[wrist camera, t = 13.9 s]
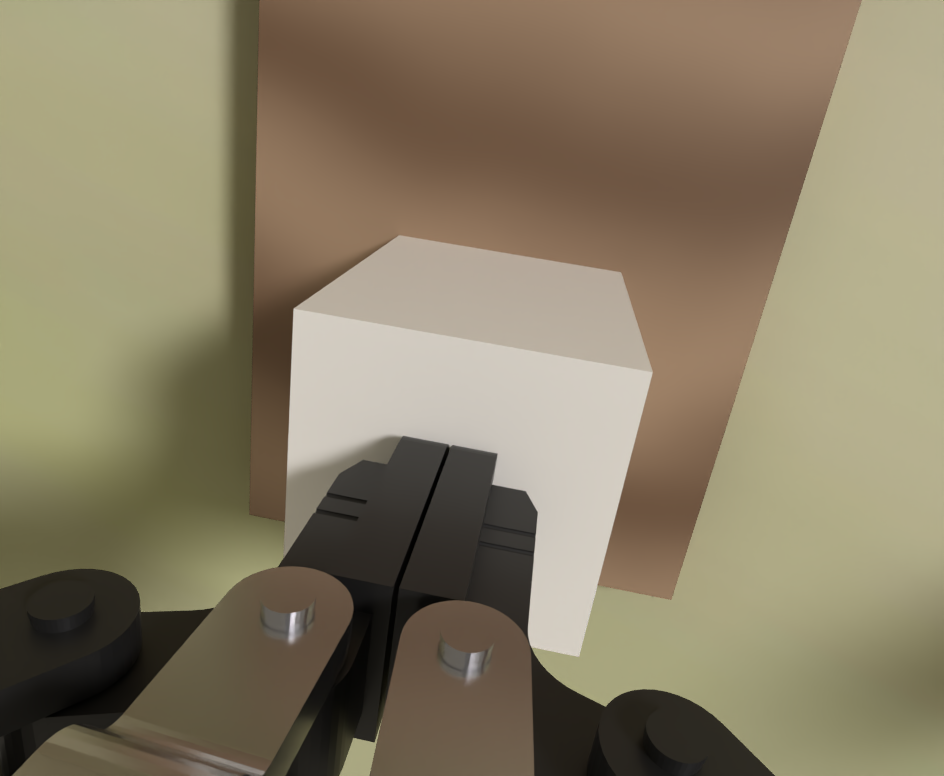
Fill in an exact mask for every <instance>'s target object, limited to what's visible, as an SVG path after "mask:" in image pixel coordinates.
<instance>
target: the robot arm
mask: <svg viewBox="0 0 944 776" xmlns="http://www.w3.org/2000/svg"><path fill="white" fill-rule="evenodd" d="M497 455H498V453H492V452H487V451H482V450H477V449H471V448H466V447H461V446H456V445H452V446H451V448H450V451H449V444H444V443H439V442H434V441H429V440H423V439H418V438H413V437H408V436H402V438H401V439H400V441H399V443H398V445H397V447H396V449H395V450H394V452H393V454H392V456H391V458H390V460H389V462H388V464H382V463H377V462H372V461H367V460H362V461H360V462H358V463H357V464H355V465H353V466H351V467H350V468H348V469H346V470H344V471H343V472H341V473H339V475H338V476H337V478H336V479H335V481H334V482H333V484H332V485H331V487H330V488H329V490H328V492H327V495H326V497H325V496H324V498H323V499H322V501H321V502H320V504H319V505H318V507H317V508H316V512H315V513H313V514H312V516H311V517H310V519H309V520H308V522H307V524H306V525H305V527H304V528H303V530H302V531H301V533H300V534H299V536H298V537H297V539H296V540H295V542H294V543H293V545H292V546H291V548H290V549H289V551H288V553H287V554H286V556H285V557H284V559H283V560H282V562H281V563H280V565H279V566H278V567H277V568H271V569H267V570H263V571H260V572H257V573H255V574H252V575H250V576H248V577H246V578H244V579H243V580H241V581H240V582H239V583H237V584H236V585H235V586H234V587H233V588H231V589H230V590H229V591H228V593H227V594H226V595H225V596H224V597H223V598H222V600H221V601H220V602H219V603H218V604H217V605H216V607H215V608H211V609H205V610H193V611H164V612H141V609H140V598H139V593H138V591H137V589H136V587H135V586H134V585H133V584H132V583H131V582H130V581H129V580H127V579H126V578H124V577H122V576H120V575H118V574H115V573H112V572H108V571H104V570H96V569H74V570H65V571H60V572H55V573H51V574H47V575H43V576H40V577H37V578H34V579H31V580H27V581H24V582H21V583H18V584H15V585H12V586H8V587H5V588H2V589H0V776H339V775H340V772H341V770H342V768H343V765H344V762H345V760H346V757H347V754H348V751H349V748H350V746H351V743H352V740H353V738H357V739H362V740H366V741H371V742H375V739H376V736H377V733H378V730H379V726H380V723H381V726H380V731H379V735H378V740H377V744H376V749H375V753H374V758H373V762H372V767H371V771H370V776H775V775H774V774H773V773H772V772H771V771H770V770H769V769H768V768H767V767H766V766H765V765H764V764H763V763H762V762H761V761H760V760H759V759H757V758H756V757H755V756H754V755H753V754H752V753H751V752H750V751H749V750H748V749H747V748H746V747H745V746H744V745H743V744H742V743H741V742H740V741H739V740H738V739H737V738H736V737H735V736H734V735H733V734H732V733H731V732H730V731H729V730H728V729H727V728H726V727H725V726H724V725H723V724H722V723H721V722H720V721H719V720H718V719H717V718H715V717H714V716H713V715H712V714H710V713H709V712H708V711H706V710H705V709H703V708H702V707H700V706H699V705H697V704H695V703H693V702H692V701H690V700H687V699H685V698H683V697H680V696H678V695H675V694H671V693H668V692H664V691H658V690H645V689H642V690H634V691H630V692H627V693H623V694H621V695H619V696H618V697H616V698H614V699H613V700H612V701H611V702H610V703H609V704H608V705H607V706H606V707H605V706H603V705H601V704H599V703H597V702H595V701H593V700H591V699H589V698H587V697H585V696H583V695H581V694H579V693H577V692H575V691H573V690H571V689H570V688H568V687H566V686H565V685H563V684H562V683H561V682H559V681H558V680H556V679H555V678H554V677H553V676H552V675H551V674H550V673H549V672H548V671H547V670H546V669H545V668H544V667H543V666H542V665H541V663H540V662H539V661H538V659H537V658H536V656H535V654H534V652H533V650H532V648H531V646H530V642H529V638H528V621H529V609H530V598H531V586H532V574H533V563H534V551H535V539H536V538H535V536H536V528H537V516H538V512H537V510H536V508H535V506H534V505H533V503H532V501H531V499H530V498H529V496H528V494H527V492H526V491H522V490H517V489H512V488H507V487H502V486H497V485H492V484H493V479H494V473H495V467H496V462H497ZM381 720H382V722H381Z"/></svg>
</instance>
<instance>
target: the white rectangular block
mask: <svg viewBox="0 0 944 776" xmlns="http://www.w3.org/2000/svg"><path fill="white" fill-rule="evenodd" d="M652 374H653V371H652V368H651V365H650V362H649V359H648V356H647V352H646V349H645V346H644V343H643V340H642V337H641V333H640V330H639V327H638V324H637V321H636V318H635V314H634V311H633V308H632V305H631V302H630V299H629V295H628V292H627V289H626V286H625V283H624V280H623V276H622V273H621V272H616V271H610V270H604V269H598V268H592V267H586V266H580V265H574V264H568V263H562V262H556V261H550V260H544V259H538V258H532V257H526V256H520V255H514V254H508V253H502V252H496V251H490V250H484V249H478V248H473V247H467V246H461V245H455V244H449V243H443V242H437V241H431V240H425V239H419V238H413V237H407V236H401V235H399V236H397V237H396V238H394V239H393V240H392V241H390V242H389V243H387V244H386V245H384V246H383V247H382V248H380V249H379V250H377V251H376V252H374V253H373V254H371V255H370V256H369V257H367V258H366V259H364V260H363V261H361V262H360V263H359V264H357V265H356V266H354V267H353V268H351V269H350V270H348V271H347V272H346V273H344V274H343V275H341V276H340V277H338V278H337V279H336V280H334V281H333V282H331V283H330V284H328V285H327V286H325V287H324V288H323V289H321V290H320V291H318V292H317V293H315V294H314V295H312V296H311V297H310V298H308V299H307V300H305V301H304V302H302V303H301V304H300V305H298V306H297V307H295V308H294V309H293V334H292V359H291V384H290V409H289V434H288V459H287V484H286V508H285V533H284V557H285V556H286V554H287V553H288V551H289V549H290V548H291V546H292V545H293V543H294V542H295V540H296V539H297V537H298V536H299V534H300V533H301V531H302V530H303V528H304V527H305V525H306V524H307V522H308V520H309V519H310V517H311V516H312V514H313V513H315V512H316V508H317V507H318V505H319V504H320V502H321V501H322V499H323V498H324V496H325V497H326V495H327V492H328V490H329V488H330V487H331V485H332V484H333V482H334V481H335V479H336V478H337V476H338V475H339V473H341V472H343V471H344V470H346V469H348V468H350V467H351V466H353V465H355V464H357V463H358V462H360V461H362V460H367V461H372V462H377V463H382V464H388V462H389V460H390V458H391V456H392V454H393V452H394V450H395V449H396V447H397V445H398V443H399V441H400V439H401V438H402V436H408V437H413V438H418V439H423V440H429V441H434V442H439V443H444V444H449V451H450V448H451V446H452V445H456V446H461V447H466V448H471V449H477V450H482V451H487V452H492V453H498V455H497V462H496V467H495V473H494V479H493V484H492V485H497V486H502V487H507V488H512V489H517V490H522V491H526V492H527V494H528V496H529V498H530V499H531V501H532V503H533V505H534V506H535V508H536V510H537V512H538V516H537V528H536V536H535V538H536V539H535V551H534V563H533V574H532V586H531V598H530V609H529V621H528V638H529V642H530V646H531V647H534V648H538V649H543V650H548V651H553V652H558V653H562V654H567V655H572V656H577V657H579V654H580V650H581V647H582V643H583V639H584V635H585V631H586V627H587V624H588V620H589V616H590V612H591V608H592V604H593V600H594V597H595V593H596V589H597V585H598V581H599V577H600V574H601V570H602V566H603V562H604V558H605V554H606V550H607V547H608V543H609V539H610V535H611V531H612V527H613V524H614V520H615V516H616V512H617V508H618V504H619V500H620V497H621V493H622V489H623V485H624V481H625V477H626V474H627V470H628V466H629V462H630V458H631V454H632V450H633V447H634V443H635V439H636V435H637V431H638V427H639V424H640V420H641V416H642V412H643V408H644V404H645V400H646V397H647V393H648V389H649V385H650V381H651V377H652ZM283 559H284V558H283Z"/></svg>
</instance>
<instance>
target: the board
mask: <svg viewBox="0 0 944 776" xmlns="http://www.w3.org/2000/svg"><path fill="white" fill-rule="evenodd" d="M861 1H862V0H259V40H258V93H257V146H256V198H255V251H254V303H253V356H252V408H251V461H250V513H249V515H254V516H259V517H264V518H269V519H274V520H279V521H284V522H285V508H286V484H287V459H288V434H289V409H290V384H291V359H292V334H293V309H294V308H295V307H297V306H298V305H300V304H301V303H302V302H304V301H305V300H307V299H308V298H310V297H311V296H312V295H314V294H315V293H317V292H318V291H320V290H321V289H323V288H324V287H325V286H327V285H328V284H330V283H331V282H333V281H334V280H336V279H337V278H338V277H340V276H341V275H343V274H344V273H346V272H347V271H348V270H350V269H351V268H353V267H354V266H356V265H357V264H359V263H360V262H361V261H363V260H364V259H366V258H367V257H369V256H370V255H371V254H373V253H374V252H376V251H377V250H379V249H380V248H382V247H383V246H384V245H386V244H387V243H389V242H390V241H392V240H393V239H394V238H396V237H397V236H399V235H401V236H407V237H413V238H419V239H425V240H431V241H437V242H443V243H449V244H455V245H461V246H467V247H473V248H478V249H484V250H490V251H496V252H502V253H508V254H514V255H520V256H526V257H532V258H538V259H544V260H550V261H556V262H562V263H568V264H574V265H580V266H586V267H592V268H598V269H604V270H610V271H616V272H621V273H622V276H623V280H624V283H625V286H626V289H627V292H628V295H629V299H630V302H631V305H632V308H633V311H634V314H635V318H636V321H637V324H638V327H639V330H640V333H641V337H642V340H643V343H644V346H645V349H646V352H647V356H648V359H649V362H650V365H651V368H652V371H653V374H652V377H651V381H650V385H649V389H648V393H647V397H646V400H645V404H644V408H643V412H642V416H641V420H640V424H639V427H638V431H637V435H636V439H635V443H634V447H633V450H632V454H631V458H630V462H629V466H628V470H627V474H626V477H625V481H624V485H623V489H622V493H621V497H620V500H619V504H618V508H617V512H616V516H615V520H614V524H613V527H612V531H611V535H610V539H609V543H608V547H607V550H606V554H605V558H604V562H603V566H602V570H601V574H600V577H599V581H598V585H600V586H605V587H610V588H615V589H620V590H625V591H630V592H635V593H640V594H645V595H650V596H655V597H660V598H665V599H670V600H671V599H672V596H673V593H674V590H675V586H676V583H677V580H678V577H679V574H680V571H681V567H682V564H683V561H684V558H685V555H686V552H687V549H688V545H689V542H690V539H691V536H692V533H693V530H694V527H695V523H696V520H697V517H698V514H699V511H700V508H701V505H702V501H703V498H704V495H705V492H706V489H707V486H708V482H709V479H710V476H711V473H712V470H713V467H714V464H715V460H716V457H717V454H718V451H719V448H720V445H721V442H722V438H723V435H724V432H725V429H726V426H727V423H728V419H729V416H730V413H731V410H732V407H733V404H734V401H735V397H736V394H737V391H738V388H739V385H740V382H741V379H742V375H743V372H744V369H745V366H746V363H747V360H748V357H749V353H750V350H751V347H752V344H753V341H754V338H755V334H756V331H757V328H758V325H759V322H760V319H761V316H762V312H763V309H764V306H765V303H766V300H767V297H768V294H769V290H770V287H771V284H772V281H773V278H774V275H775V272H776V268H777V265H778V262H779V259H780V256H781V253H782V249H783V246H784V243H785V240H786V237H787V234H788V231H789V227H790V224H791V221H792V218H793V215H794V212H795V209H796V205H797V202H798V199H799V196H800V193H801V190H802V187H803V183H804V180H805V177H806V174H807V171H808V168H809V164H810V161H811V158H812V155H813V152H814V149H815V146H816V142H817V139H818V136H819V133H820V130H821V127H822V124H823V120H824V117H825V114H826V111H827V108H828V105H829V102H830V98H831V95H832V92H833V89H834V86H835V83H836V79H837V76H838V73H839V70H840V67H841V64H842V61H843V57H844V54H845V51H846V48H847V45H848V42H849V39H850V35H851V32H852V29H853V26H854V23H855V20H856V17H857V13H858V10H859V7H860V4H861Z"/></svg>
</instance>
